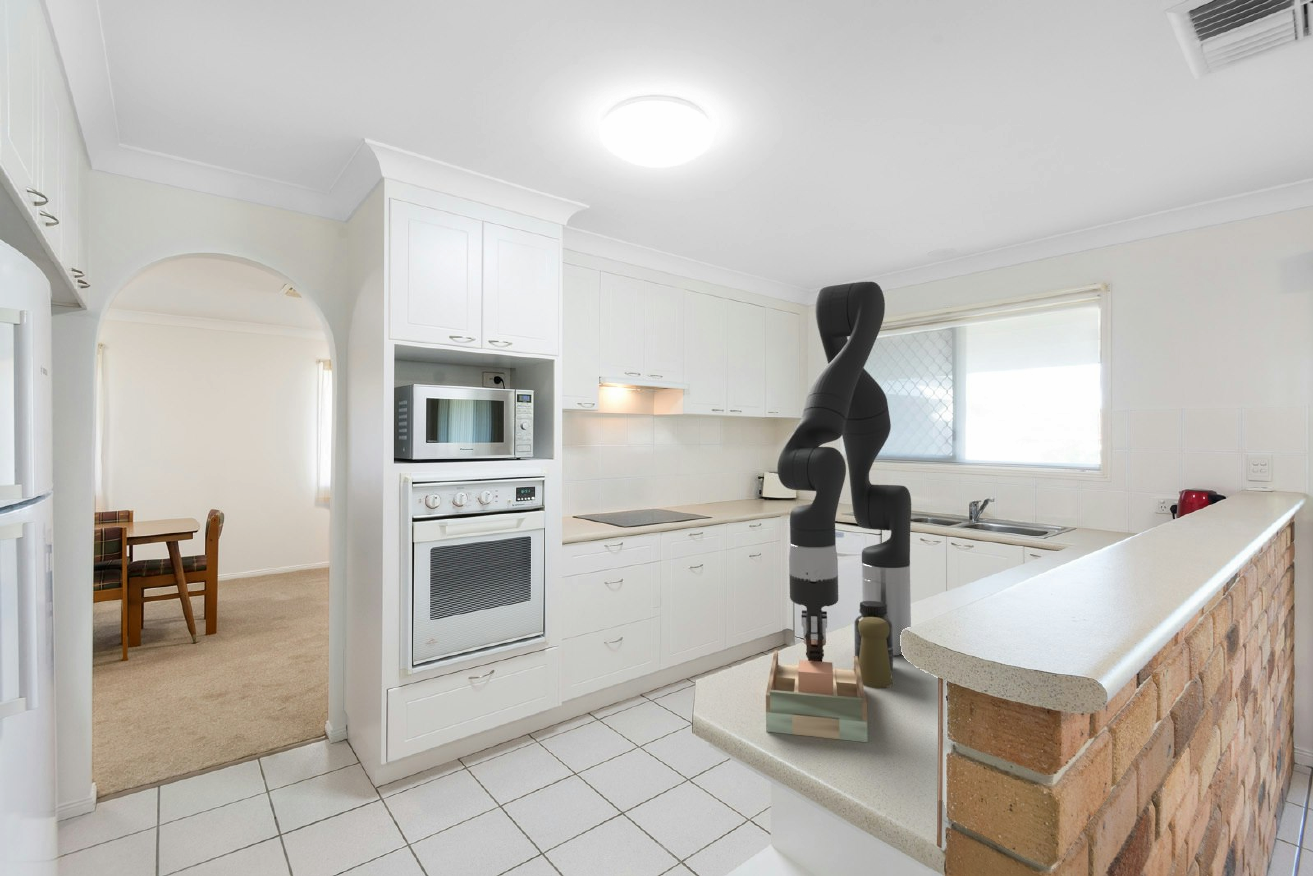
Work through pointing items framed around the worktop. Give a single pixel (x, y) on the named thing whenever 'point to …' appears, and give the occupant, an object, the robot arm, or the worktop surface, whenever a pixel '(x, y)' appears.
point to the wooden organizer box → (816, 705)
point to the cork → (874, 653)
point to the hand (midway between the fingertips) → (815, 679)
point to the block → (815, 677)
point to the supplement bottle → (880, 612)
